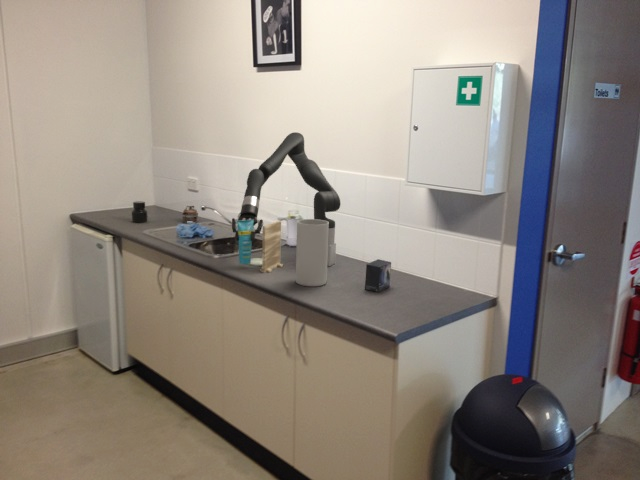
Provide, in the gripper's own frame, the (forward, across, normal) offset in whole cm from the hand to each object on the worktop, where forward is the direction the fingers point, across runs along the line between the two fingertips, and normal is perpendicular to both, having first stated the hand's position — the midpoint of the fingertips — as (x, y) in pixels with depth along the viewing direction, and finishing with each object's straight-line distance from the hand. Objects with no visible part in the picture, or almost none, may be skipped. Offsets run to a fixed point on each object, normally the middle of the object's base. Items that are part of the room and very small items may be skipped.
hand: (244, 240), depth 247 cm
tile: (+1, -4, -18) cm, 18 cm away
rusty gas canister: (-61, +55, -79) cm, 114 cm away
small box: (+21, -57, +2) cm, 61 cm away
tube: (+7, 0, -9) cm, 11 cm away
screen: (+7, -11, -11) cm, 17 cm away
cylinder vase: (+20, -31, +1) cm, 36 cm away
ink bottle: (-56, +84, -75) cm, 126 cm away
